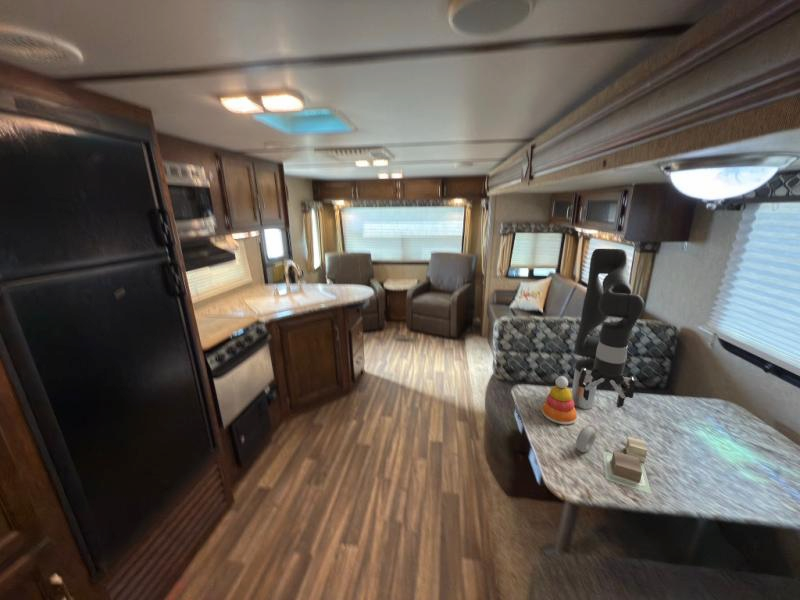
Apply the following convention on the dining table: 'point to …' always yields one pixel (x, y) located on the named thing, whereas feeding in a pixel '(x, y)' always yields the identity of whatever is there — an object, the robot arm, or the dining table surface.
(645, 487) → the build board
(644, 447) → the maple block
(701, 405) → the dining table surface
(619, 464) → the walnut block
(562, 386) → the stacking toy
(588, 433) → the donut
